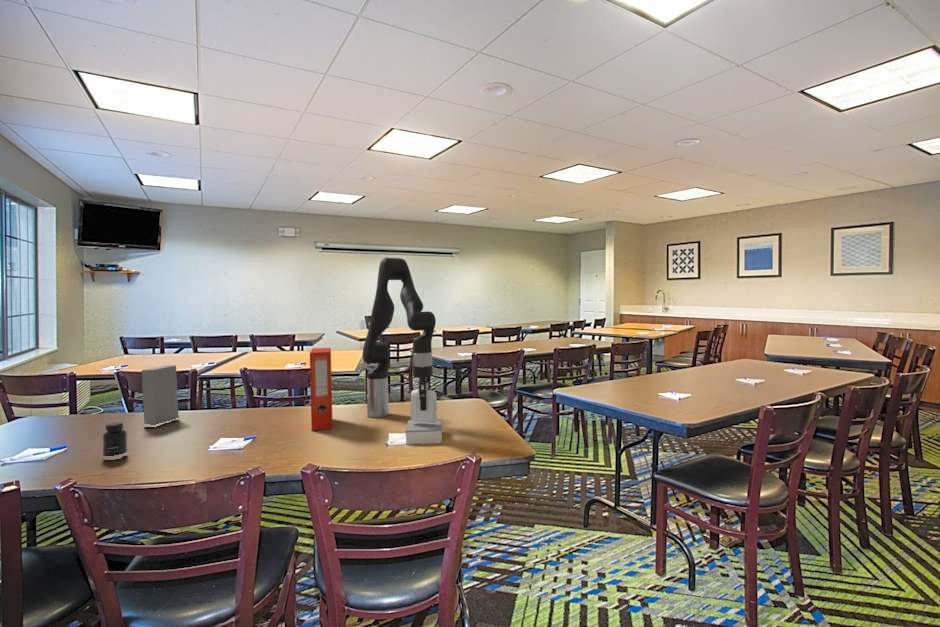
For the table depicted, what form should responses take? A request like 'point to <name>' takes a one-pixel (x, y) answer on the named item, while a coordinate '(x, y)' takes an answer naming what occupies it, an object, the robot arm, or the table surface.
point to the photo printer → (431, 407)
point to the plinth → (423, 432)
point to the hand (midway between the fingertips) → (423, 408)
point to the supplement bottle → (114, 440)
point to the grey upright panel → (160, 394)
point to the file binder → (321, 388)
